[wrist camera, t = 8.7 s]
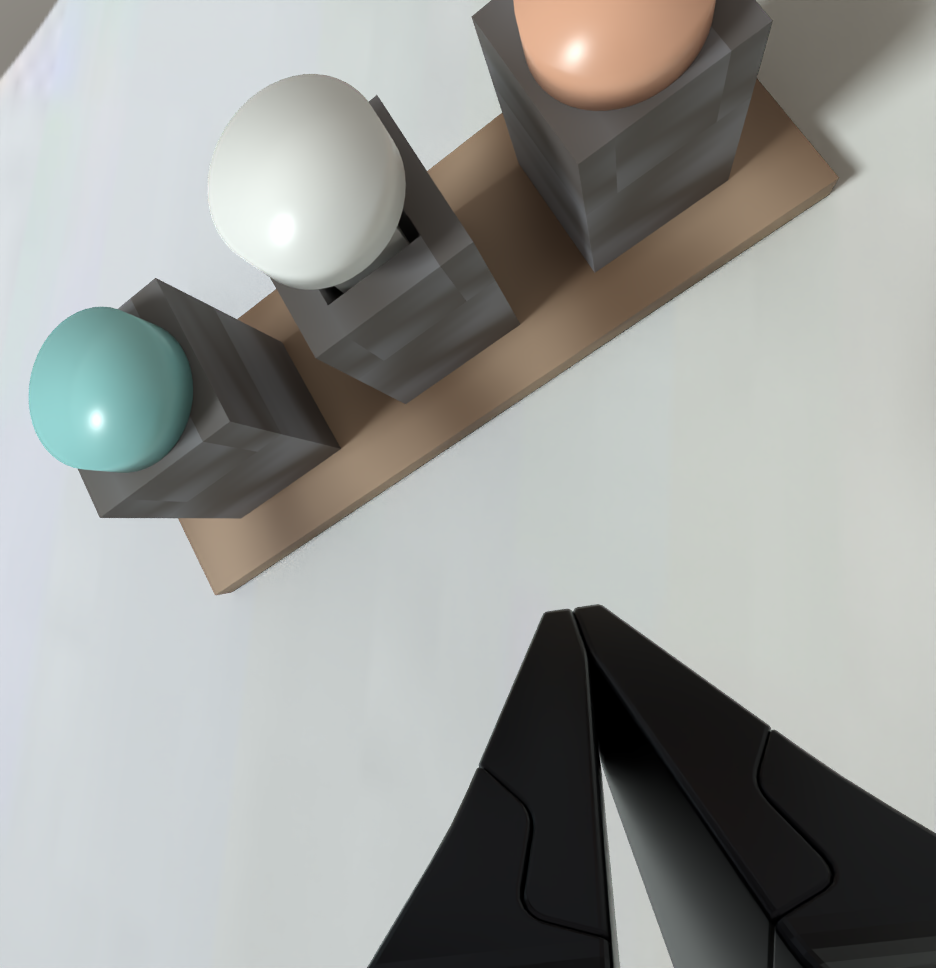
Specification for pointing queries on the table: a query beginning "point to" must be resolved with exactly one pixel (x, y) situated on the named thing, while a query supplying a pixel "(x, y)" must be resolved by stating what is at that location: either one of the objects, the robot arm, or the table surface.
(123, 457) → the teal button
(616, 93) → the peach ball
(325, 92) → the white button
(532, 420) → the table surface
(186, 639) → the table surface
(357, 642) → the table surface
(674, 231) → the button stand
